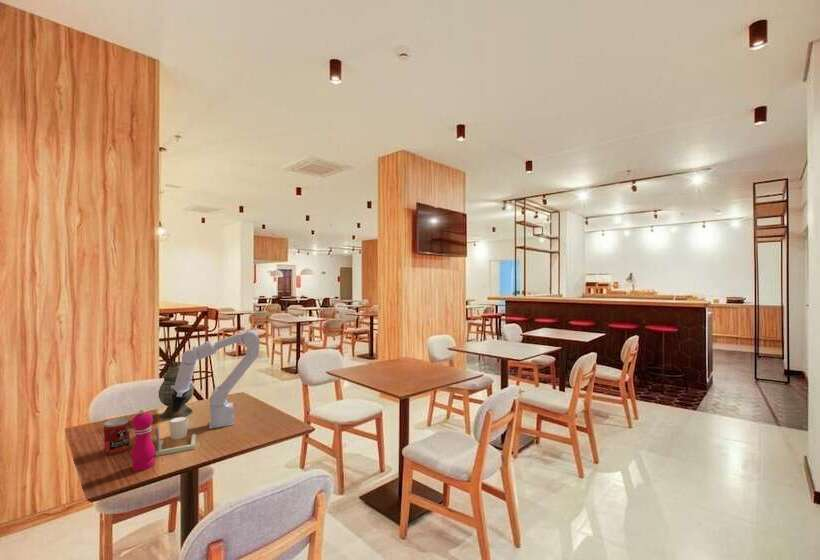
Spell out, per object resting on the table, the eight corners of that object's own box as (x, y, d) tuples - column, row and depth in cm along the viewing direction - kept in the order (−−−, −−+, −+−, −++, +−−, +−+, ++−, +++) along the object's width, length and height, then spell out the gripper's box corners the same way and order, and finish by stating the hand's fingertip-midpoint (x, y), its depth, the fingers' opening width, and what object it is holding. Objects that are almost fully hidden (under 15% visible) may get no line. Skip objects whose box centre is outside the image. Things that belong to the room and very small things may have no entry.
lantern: (152, 419, 180) (151, 365, 179) (171, 408, 194) (170, 358, 194) (182, 419, 179) (181, 365, 179) (199, 408, 194) (198, 358, 193)
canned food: (110, 456, 143) (109, 426, 143) (100, 451, 148) (100, 422, 147) (133, 448, 150) (133, 420, 150) (124, 443, 154) (123, 416, 154)
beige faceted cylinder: (179, 440, 157) (179, 423, 157) (165, 439, 158) (164, 422, 158) (192, 433, 164) (192, 417, 163) (178, 432, 165) (178, 416, 165)
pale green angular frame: (195, 437, 160) (195, 413, 159) (194, 448, 149) (193, 422, 149) (152, 444, 153) (152, 419, 153) (148, 457, 142) (147, 430, 142)
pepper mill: (138, 462, 139) (137, 406, 139) (160, 461, 140) (159, 405, 139) (125, 472, 132) (124, 413, 132) (148, 471, 132) (147, 412, 132)
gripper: (175, 371, 173) (167, 402, 172) (172, 380, 160) (163, 413, 159) (193, 373, 176) (184, 403, 175) (191, 382, 163) (182, 415, 162)
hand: (175, 408), depth 167 cm, fingers open, 7 cm apart
